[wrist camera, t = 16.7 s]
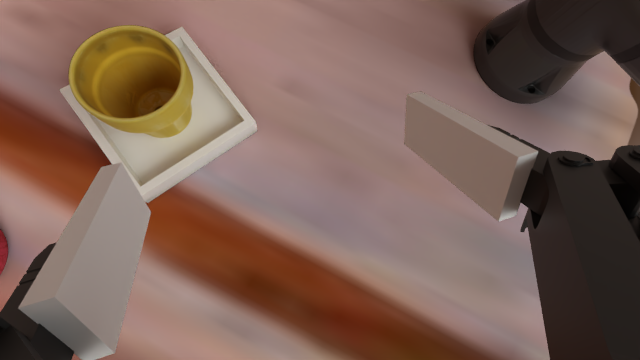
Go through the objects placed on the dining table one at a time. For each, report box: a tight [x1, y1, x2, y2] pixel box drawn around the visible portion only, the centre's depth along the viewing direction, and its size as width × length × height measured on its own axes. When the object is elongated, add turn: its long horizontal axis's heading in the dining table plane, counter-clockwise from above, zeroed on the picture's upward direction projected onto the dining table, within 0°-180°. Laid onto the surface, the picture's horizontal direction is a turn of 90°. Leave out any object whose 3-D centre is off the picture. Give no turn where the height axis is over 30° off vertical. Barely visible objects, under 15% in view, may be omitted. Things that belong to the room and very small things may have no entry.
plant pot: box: [69, 25, 193, 138], centre depth 33 cm, size 10×10×10 cm
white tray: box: [59, 27, 257, 203], centre depth 37 cm, size 16×16×3 cm
